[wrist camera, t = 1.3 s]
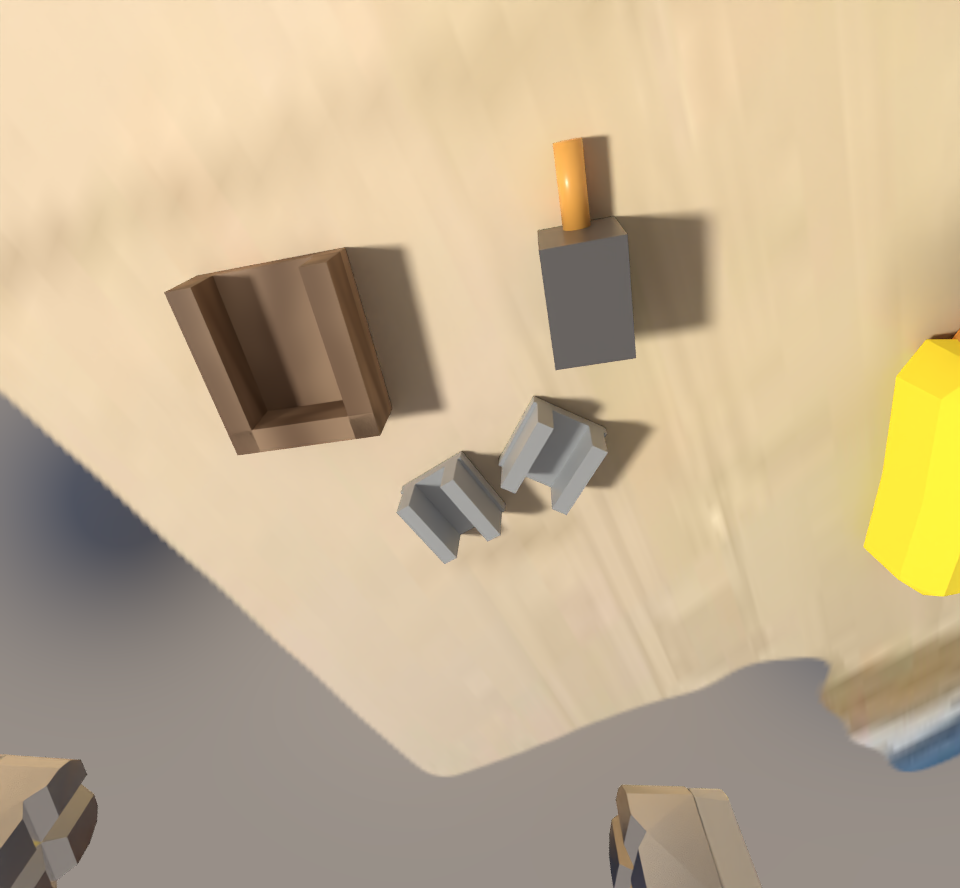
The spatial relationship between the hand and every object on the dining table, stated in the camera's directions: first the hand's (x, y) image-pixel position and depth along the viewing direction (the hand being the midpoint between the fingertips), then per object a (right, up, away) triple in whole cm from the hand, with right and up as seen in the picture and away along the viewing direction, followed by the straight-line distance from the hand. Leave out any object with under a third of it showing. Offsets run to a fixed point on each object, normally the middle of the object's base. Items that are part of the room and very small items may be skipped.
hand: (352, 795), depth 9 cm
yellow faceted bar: (+30, +5, +27) cm, 41 cm away
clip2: (0, +2, +31) cm, 31 cm away
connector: (+7, +16, +23) cm, 29 cm away
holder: (-9, +11, +27) cm, 30 cm away
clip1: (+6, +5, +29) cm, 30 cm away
